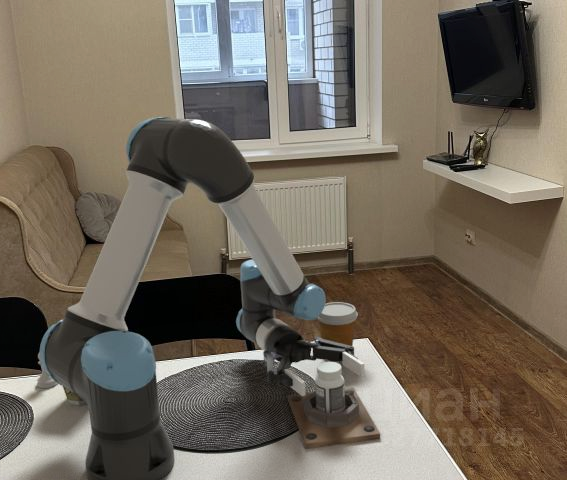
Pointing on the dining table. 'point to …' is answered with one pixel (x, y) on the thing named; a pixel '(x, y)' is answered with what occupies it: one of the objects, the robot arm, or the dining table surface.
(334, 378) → the pill bottle
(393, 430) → the dining table surface
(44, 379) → the chess piece
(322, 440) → the socket plate
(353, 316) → the disposable coffee cup
